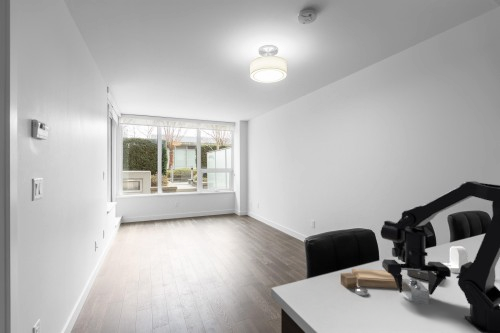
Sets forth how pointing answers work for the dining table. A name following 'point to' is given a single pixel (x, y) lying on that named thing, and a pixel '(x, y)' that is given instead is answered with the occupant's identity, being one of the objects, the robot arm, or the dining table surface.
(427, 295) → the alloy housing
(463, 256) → the cable organizer
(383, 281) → the tan shallow rectangular tray
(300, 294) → the dining table surface
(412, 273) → the electrical switch
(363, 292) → the chrome dome knob
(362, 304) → the dining table surface
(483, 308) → the robot arm
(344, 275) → the walnut offcut
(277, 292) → the dining table surface
